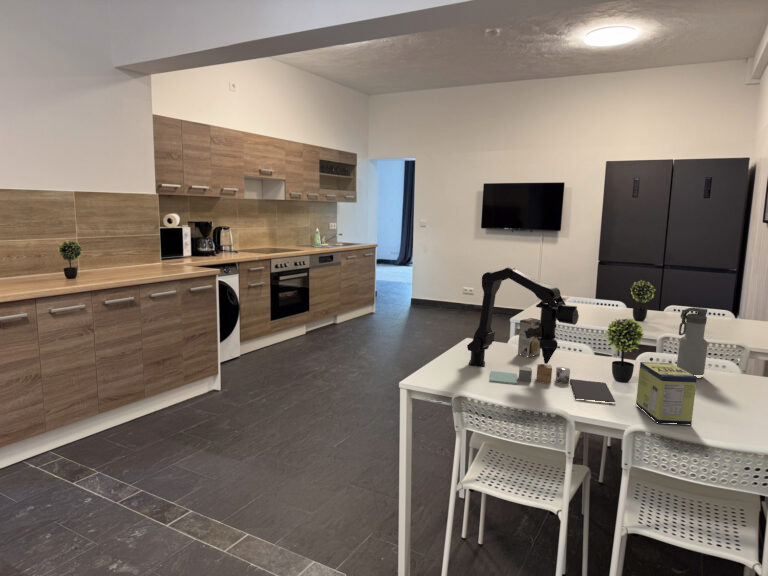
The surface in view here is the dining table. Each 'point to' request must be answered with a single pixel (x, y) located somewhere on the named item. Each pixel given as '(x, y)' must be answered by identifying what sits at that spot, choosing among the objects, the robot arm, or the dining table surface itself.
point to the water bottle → (693, 342)
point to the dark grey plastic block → (525, 374)
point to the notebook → (591, 390)
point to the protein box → (666, 392)
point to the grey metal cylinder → (562, 374)
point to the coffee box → (528, 339)
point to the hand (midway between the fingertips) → (544, 360)
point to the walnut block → (544, 373)
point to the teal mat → (503, 377)
